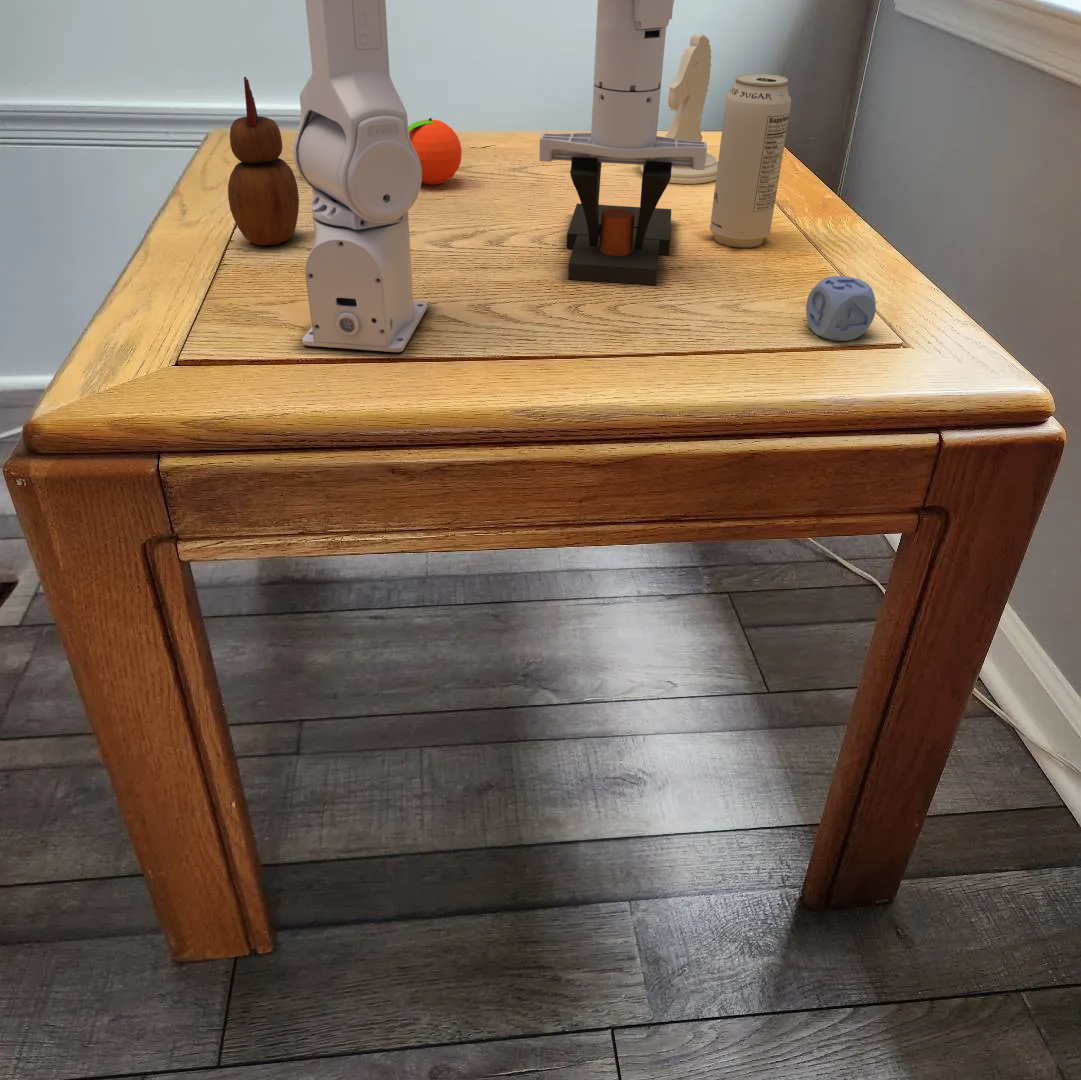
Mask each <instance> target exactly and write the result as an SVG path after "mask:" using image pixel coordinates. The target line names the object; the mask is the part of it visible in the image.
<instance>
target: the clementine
mask: <svg viewBox="0 0 1081 1080" xmlns="http://www.w3.org/2000/svg"><path fill="white" fill-rule="evenodd" d="M408 132H409V137H410V140H411V143H412V145H413V147H414V149H415V151H416V153H417V155H418V157H419V160H420V163H421V168H422V182H421V184H426V185H430V186H431V185H433V186H434V185H435V186H436V185H439V184H443V183H446V182H447V181H449V180H450V179H452V177H454V175H455V174H456V173H457V171H458V170H459V168H460V165H461V163H462V152H463V151H462V145H461V141H460V139H459V137H458V135H457V133H456V131H455V130H454V129H453V128H452V127H451V126H449V125H448V124H447V123H446V122H444V121H442V120H438V119H433V118H432V117H430V118H428V119H423V120H422V119H421V120H418V121H415V122H413V123H411V124H410V125H408Z"/></svg>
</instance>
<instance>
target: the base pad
mask: <svg viewBox="0 0 1081 1080" xmlns="http://www.w3.org/2000/svg"><path fill="white" fill-rule="evenodd" d="M608 209H625V210H629V211H631V212H633V213H634V215H635V216H634V228H637V224H638V218H639V213H640V206H625V205H610V204H599V236H600V232H601V217H602V212H603V211H605V210H608ZM671 225H672V208H663V207H662V208H659V207H655V210H654V212H653V214H652V216H651V219H650V221H649V224H648V227H647V230H646V233H645V237H644V239H649V240H659V254H658V255H662V256H663V255H664V256H669V254H670V247H671V227H672V226H671ZM577 235H585V236H589V234H588V228H587V223H586V218H585V214H584V210H583V207H582V204H581V203H578V202H577V203H576V205H575V208H574V210H573V214H572V218H571V221H570V223H569V226H568V230H567V233H566V249H567V250H568V249H569V250H573V247H574V244H575V240H576V237H577Z"/></svg>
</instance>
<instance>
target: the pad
mask: <svg viewBox="0 0 1081 1080" xmlns="http://www.w3.org/2000/svg"><path fill="white" fill-rule="evenodd" d="M634 216H635V215H634V213H633V212H631V211H629V210H625V209H608V210H605V211H603V212H602V217H601V232H600V236H599V237H598V243H597V247H591V246H589V236H585V235H577V237H576V240H575V244H574V247H573V249H572V251H571V253H570V258H569V262H568V270H567V271H568V273H567V275H568V276H567V279H568V280H573V281H574V280H575V281H590V282H603V283H605V282H606V283H618V284H633V285H635V284H636V285H649V286H650V285H651V286H656V285H657V280H658V279H657V277H658V269H659V268H658V265H659V255H660V254H659V240H649V239H644V241H643V247H642V249H641V250H639V249H635V238H636V230H637V228H634Z"/></svg>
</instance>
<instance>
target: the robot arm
mask: <svg viewBox="0 0 1081 1080" xmlns="http://www.w3.org/2000/svg"><path fill="white" fill-rule="evenodd" d="M674 4H675V0H597V5H596V6H597V8H596V9H597V11H596V28H595V29H596V30H595V31H596V32H595V47H594V66H593V68H594V69H593V85H592V86H593V89H592V105H591V106H592V108H591V126H590V127H591V128H590V132H572V133H546V132H545V133H542V134H541V136H540V137H539V158H538V159H539V162H545V163H546V162H547V163H548V162H549V163H550V162H552V161H567V162H570V163H571V164H570V170H569V175H570V178H571V183H572V184H573V186H574V188H575V190H576V193H577V196H578V198H579V201H580V204H582V207H583V210H584V214H585V218H586V223H587V228H588V234H589V246H591V247H597V243H598V237H599V205H600V190H601V189H600V188H601V175H602V164H603V163H605V164H620V165H635V166H636V165H638V166H639V165H640V166H641V165H644V168H643V174H642V175H641V176H642V177H641V190H640V201H639V207H640V213H639V218H638V224H637V230H636V238H635V249H639V250H641V249H642V247H643V241H644V237H645V233H646V230H647V227H648V224H649V221H650V219H651V216H652V214H653V212H654V210H655V208H657V205H658V203H659V202H660V200H661V198H662V196H663V194H664V193H665V191H666V189H667V187H668V185H669V183H670V182H669V181H670V179H671V169H672V167H690V168H692V169H693V170H704V169H705V161H706V153H708V143H707V141H702V142H698V141H688V140H680V139H673V138H666V136H659V135H658V124H659V113H660V103H661V90H662V82H663V81H662V79H663V69H664V58H665V47H666V46H665V45H666V35H667V27H668V26H669V25H670V20H673V11H674ZM305 11H306V20H307V21H306V22H307V31H308V41H309V42H308V43H309V51H310V59H311V60H310V62H311V70H312V71H311V75H310V77H309V79H307V81H306V83H305V85H304V87H303V88H302V90H301V91H300V94H299V106H300V119H299V125H298V128H297V131H296V133H295V137H294V140H293V141H294V142H293V150H292V151H293V152H292V153H293V160H294V164H295V168H296V170H297V172H298V174H299V176H300V177H301V179H302V180H303V181H304V182H305V183H306V184H307V185H308V186H309V187H310V188H312V200H311V213H312V214H311V215H312V222H313V223H312V224H313V230H314V238H315V239H314V244H313V247H312V249H311V250H310V252H309V253H308V256H307V259H306V262H305V269H304V270H305V280H306V289H307V297H308V305H309V306H308V307H309V311H310V312H309V313H310V321H311V327H310V328H309V329H308V330H307V332H306V333H305V335H304V336H302V338H301V342H302V343H301V344H302V345H303V346H308V347H322V348H335V349H347V350H360V351H361V350H362V351H374V352H387V353H389V352H390V353H401V352H403V351H404V350H405V348H406V346H407V344H408V343H409V340H410V339H411V337H412V336H413V334H414V332H415V331H416V329H417V326H418V325H419V323H420V322H421V320H422V318H423V316H424V314H425V313H426V311H427V310H428V302H427V301H424V300H414V289H413V288H414V287H413V271H412V254H411V253H412V252H411V237H410V235H411V234H410V221H409V219H410V218H409V210H410V209H411V208H412V207H413V206H414V204H415V203H416V201H417V199H418V197H419V194H420V192H421V187H422V168H421V163H420V160H419V157H418V155H417V153H416V151H415V149H414V147H413V145H412V143H411V140H410V137H409V132H408V126H409V125H408V124H409V123H408V122H409V119H408V113H407V110H406V108H405V105H404V104H403V101H402V99H401V97H400V94H399V93H398V91H397V89H396V87H395V84H394V82H393V80H392V78H391V75H390V57H389V56H390V55H389V39H388V22H387V4H386V0H305Z"/></svg>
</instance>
